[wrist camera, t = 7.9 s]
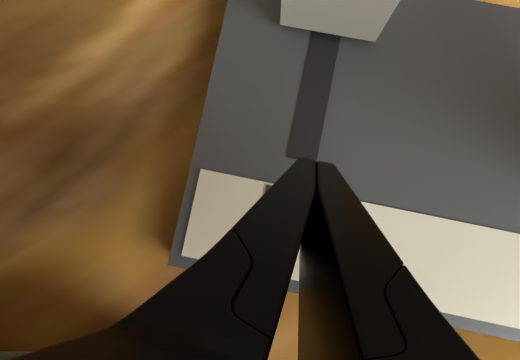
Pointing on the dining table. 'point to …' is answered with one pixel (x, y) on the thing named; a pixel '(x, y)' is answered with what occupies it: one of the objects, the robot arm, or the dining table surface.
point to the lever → (339, 16)
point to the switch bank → (377, 141)
